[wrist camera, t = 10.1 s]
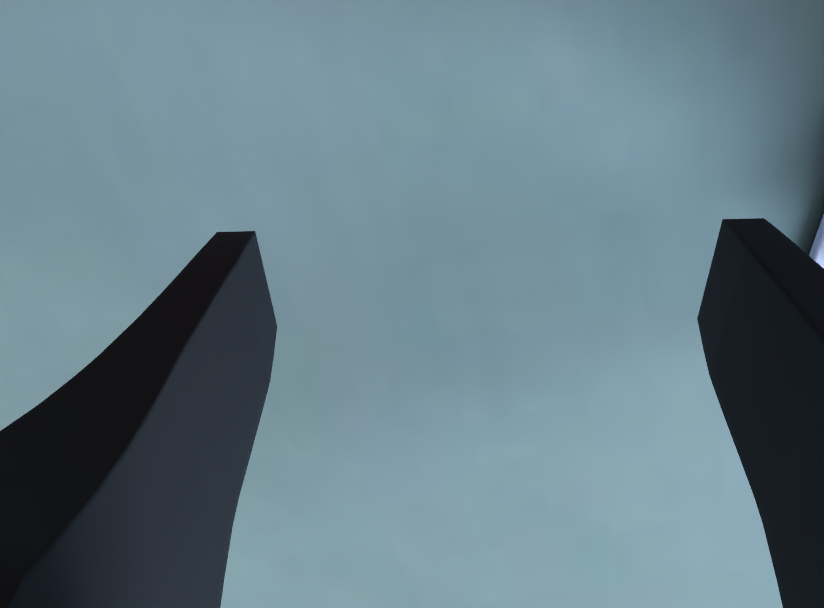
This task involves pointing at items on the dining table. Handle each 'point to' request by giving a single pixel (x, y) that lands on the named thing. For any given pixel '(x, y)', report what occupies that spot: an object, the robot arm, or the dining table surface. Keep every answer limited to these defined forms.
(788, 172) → the dining table surface
